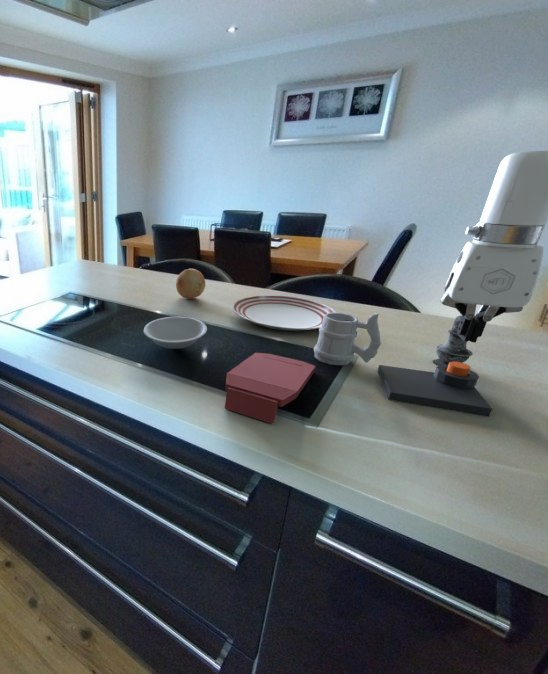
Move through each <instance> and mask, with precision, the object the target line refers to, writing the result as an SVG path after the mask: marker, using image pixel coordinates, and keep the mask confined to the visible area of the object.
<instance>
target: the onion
mask: <svg viewBox="0 0 548 674" xmlns="http://www.w3.org/2000/svg"><path fill="white" fill-rule="evenodd" d="M205 288H206V280H205V277H204V274H202V272H201V271H200V270H198V269H195V268H188V269H184V270H183V271H181V272H180V273H179V274H178V276H177V277H176V280H175V289H176V291H177V293H178V295H180V296H181V297H182V298H184V299H189V300H191V299H194V298H198V297H200V296H201V295H202V294H203V293H204V291H205Z"/></svg>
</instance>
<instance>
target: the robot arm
mask: <svg viewBox="0 0 548 674" xmlns="http://www.w3.org/2000/svg"><path fill="white" fill-rule="evenodd" d="M547 222H548V150H530V151H518V152H512V153H510V154H508V155H506V156H505V157H504V158H503V159H502V160H501V161H500V163H499V166H498V167H497V171H496V173H495V176H494V179H493V182H492V185H491V188H490V190H489V194H488V196H487V199H486V201H485V205H484V208H483V209H482V213H481V216H480V219H479V221H478V222H477V223H476V225H473V226H466V228H465V230H464V235H465V236H470V237H472V240H468V241H467V242H466V243H465V245H464V246H463V248H462V250H461V251H460V252H459V255H458V257H457V258H456V261H455V263H454V264H453V267H452V268H451V270H450V273H449V276H448V279H447V281H446V283H445V286H444V294H443V295H442V297H441V298H440V299H439V301H440V303H441V305H443V306H445V307H450V308H453V309H456V310H457V312H458V313H460V316H461V315H462V318H461V321H460V323H459V326H458V329H457V334H458V336H459V337H460V338H461V339H462V340H463V341H467V343H468V342H471V343H476V342H477V341H478V338H481V337H482V336H483V333H484V331H485V328H486V326H487V323H489V322H491V321H492V320H493V319H494V318H496V317H498V316H500V315H502V314H511V313H520V312H522V311H523V309H524V307H525V306H527V305H528V304H529V303H530V301H531V299H532V296H533V295H534V291H535V288H536V285H537V282H538V280H539V275H540V271H541V267H542V262H543V257H544V249H545V248H544V246H542V245H538V244H539V241H540V239H541V236H542V234H543V231H544V230H545V226H546V224H547ZM478 305H479V306H480V308H479V309H478V311H477V306H478ZM476 311H477V313H476Z"/></svg>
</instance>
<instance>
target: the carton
mask: <svg viewBox="0 0 548 674" xmlns="http://www.w3.org/2000/svg"><path fill="white" fill-rule="evenodd" d="M315 371H316V365H314V364H312V363H308V362H306V361H304V360H299V359H294V358H290V357H285V356H281V355H277V354H273V353H265V352H254V353H253V354H252V355H250V356H249V357H247V358H246V359H244V360H243V361H242V362H240V363H239V364H237V365H236V366H235V367H233V368H232V369H230V370H229V371H228V372H227V373H226V378H225V390H224V391H226V397H225V403H224V409H225V410H228V409H229V411H232V412H233V413H234V412H235V413H237V414H240V415H243V416H247V417H250V418H253V419H256V420H261V421H263V422H266V423H269V424H273V423H274V422H275V421H276V418H277V414H278V413H277V412H278V409H279V407H280V408H283V407H284V406H286V405H288V404H289V403H291V402H292V401H294V400H296V399H297V398H298V396H299V395H300V393H301V392H302V391H303V389H304V388H305V387H306V384H307V383H308V382H309V380H310V379H311V378H312V376H313V374H314V373H315ZM274 420H275V421H274Z"/></svg>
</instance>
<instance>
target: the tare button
mask: <svg viewBox="0 0 548 674" xmlns="http://www.w3.org/2000/svg"><path fill="white" fill-rule="evenodd" d="M469 370H471V366H470V365H469V364H467V363H465V362H462V363H461V362H450V363H449V365H448V368H447V370H446V372H448V373H450V374H454V375H457V376H468V373H469Z"/></svg>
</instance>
